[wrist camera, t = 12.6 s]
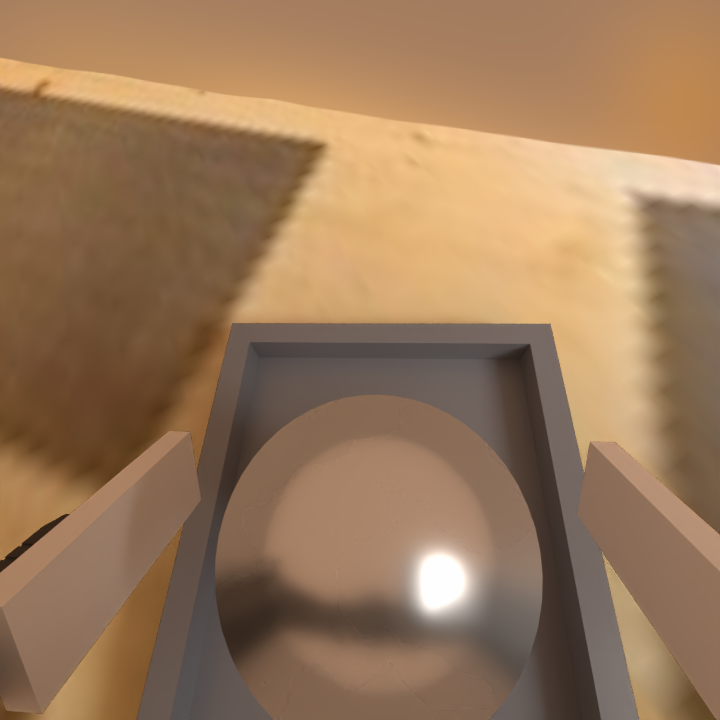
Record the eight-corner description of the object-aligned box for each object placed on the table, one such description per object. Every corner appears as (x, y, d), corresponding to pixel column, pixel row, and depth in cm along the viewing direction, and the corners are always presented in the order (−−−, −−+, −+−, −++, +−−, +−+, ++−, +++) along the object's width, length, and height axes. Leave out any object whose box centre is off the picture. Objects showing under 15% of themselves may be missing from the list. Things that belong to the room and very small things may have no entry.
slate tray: (534, 348, 22) (550, 323, 20) (654, 971, 12) (716, 1065, 10) (247, 346, 23) (232, 323, 21) (128, 902, 13) (75, 971, 11)
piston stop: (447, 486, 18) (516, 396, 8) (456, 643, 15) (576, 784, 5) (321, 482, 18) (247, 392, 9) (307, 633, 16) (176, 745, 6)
